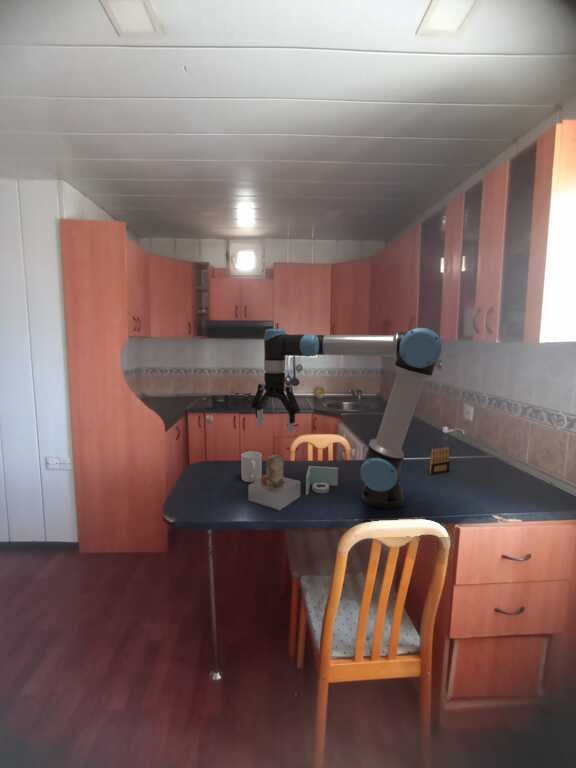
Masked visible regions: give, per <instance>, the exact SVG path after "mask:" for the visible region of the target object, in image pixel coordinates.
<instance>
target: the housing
mask: <svg viewBox="0 0 576 768" xmlns="http://www.w3.org/2000/svg"><path fill="white" fill-rule="evenodd" d="M247 487H248V498H247V499H248V501H249V502H252V503H255V504H259V505H261V506H265V507H268V508H270V509H274V510H277V511H281V510H282V508H283V509H284V508H285V507H287V506H288V505H290V504H291V503H293V502H294V501H296V500H298V498H300V497H301V481H300V480H297V479H293V478H289V477H285V476H283V484H282V485H281V486H279V487H277V488H276V487H273V486H269V485H266V474H262V476H261V479H259V480H257V481H255V482H250V484H248V486H247Z"/></svg>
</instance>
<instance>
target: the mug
mask: <svg viewBox="0 0 576 768" xmlns="http://www.w3.org/2000/svg"><path fill="white" fill-rule="evenodd" d="M240 457H241V459H240V462H241V466H240V468H241V475H240V476H241V480H242V481H243V482H246V483H253V482H255V481H257V480H259V479H261V476H263V474H262V473H263V472H262V469H263V468H262V463H263V461H262V460H263V459H262V453H261V452H260V451H245V452H243V453H241V456H240Z"/></svg>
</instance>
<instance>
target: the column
mask: <svg viewBox="0 0 576 768" xmlns="http://www.w3.org/2000/svg"><path fill="white" fill-rule="evenodd" d="M265 470H266V485H269V486H273V487H276V488H277V487H279V486H281V485H282V484H283V477H284V456H282V455H276V454H272V455H270V456H268V457H266V469H265Z"/></svg>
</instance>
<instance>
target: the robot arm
mask: <svg viewBox="0 0 576 768" xmlns="http://www.w3.org/2000/svg"><path fill="white" fill-rule="evenodd" d="M263 343H264V344H263V345H264V346H263V347H264V350H263V351H264V358H263V359H264V360H263V361H264V364H263V365H264V367H263V369H264V383H258V384H257V391H256V393H255V395H254V398H253V400H252V402H251V405H250V406H251V409H255V418H256V427H257V428H262V427H264V409H263V407H264V405H265V404H266V402H268V400H269V398H275V399H278V400H280V402H281V403H282V404H283V407H285V409H286V411H287V412H288V414H287V417H286V419H287V420H286V427H287V429H286V430H287V431H286V432H287V433H289V434H290V433H292V432H294V424H295V422H296V414H299V413H300V412H301V410H300V407H299V404H298V402H297V399H296V397H295V395H294V391H293V386H292V385H289V386H285V382H286V372H285V371H286V356H287V357H288V356H295V357H306V358H308V357H316V356H352V357H353V356H355V357H356V356H358V357H392V358H394V360H395V363H394V368H395V370H396V371H397V373H396V376H395V378H394V380H393V385H392V389H391V391H390V394H389V397H388V401H387V404H386V407H385V410H384V413H383V416H382V419H381V422H380V426H379V428H378V432H377V435H376V438H371V439H370V440H369V441H368V444H367V445H368V447H367V450H366V453H365V454H366V455H365V457H364V461H363V463H362V464H361V467H360V478H361V480H362V482H363V483H364V486H363V488H362V492H361V500H363V502H364V503H366V504H367V505H369V506H372V507H374V508H379V509H386V510H387V509H388V510H389V509H391V510H392V509H397V508H400V507H402V505H404V500H405V499H404V498H405V497H404V493H403V490H402V486H401V482H400V481H401V480H400V477H401V466H402V464H403V461H404V457H405V454H404V453H405V452H404V451H403V450H402V448H403V445H404V442H405V440H406V437H407V433H408V430H409V428H410V425H411V422H412V419H413V416H414V412H415V410H416V407H417V404H418V401H419V398H420V395H421V392H422V390H423V389H422V388H423V387H424V383H425V380H427V379H429V378H431V377H432V376H433V372H434V370H435V368H436V364H437V361H438V359H439V358H440V356H441V353H442V349H443V348H442V341H441V338H440V337H439V335H438V334H437V333H436V332H435V331H433V330H432V329H429V328H427V327H416V328H413V329H411V330H409V331H405V332H403V331H401V332H399V331H398V332H396V333H395V334H389V335H387V334H384V335H382V334H376V335H375V334H310V333H305V334H302V333H301V334H299V333H298V334H288V333H286V330H285V329H284V328H266V329H265V331H264V341H263ZM264 391H265V393H264Z"/></svg>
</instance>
